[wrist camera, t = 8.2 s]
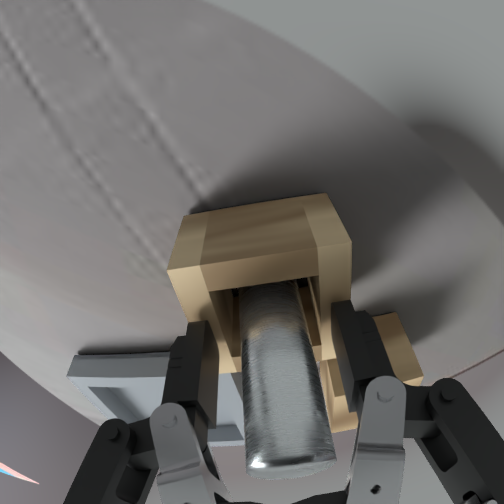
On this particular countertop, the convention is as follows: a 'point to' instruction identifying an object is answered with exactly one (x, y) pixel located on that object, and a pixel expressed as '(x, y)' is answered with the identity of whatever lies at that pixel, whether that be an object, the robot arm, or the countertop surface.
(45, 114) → the countertop surface
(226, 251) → the oak block
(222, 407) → the tray
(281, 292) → the cylinder
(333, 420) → the block
